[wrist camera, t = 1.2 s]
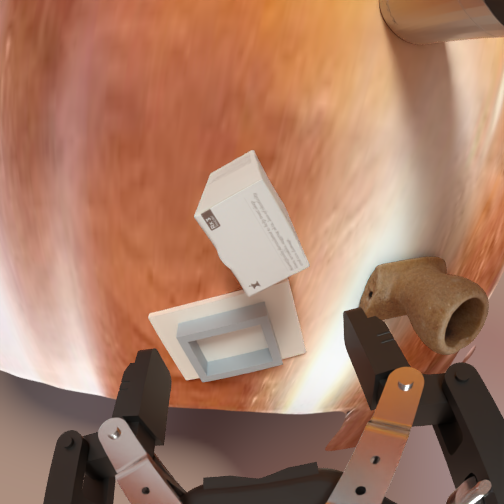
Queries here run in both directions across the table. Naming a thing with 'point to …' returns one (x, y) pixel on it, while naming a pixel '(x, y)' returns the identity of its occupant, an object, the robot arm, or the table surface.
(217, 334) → the socket board
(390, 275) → the tan flared vase
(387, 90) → the table surface
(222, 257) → the skincare box
